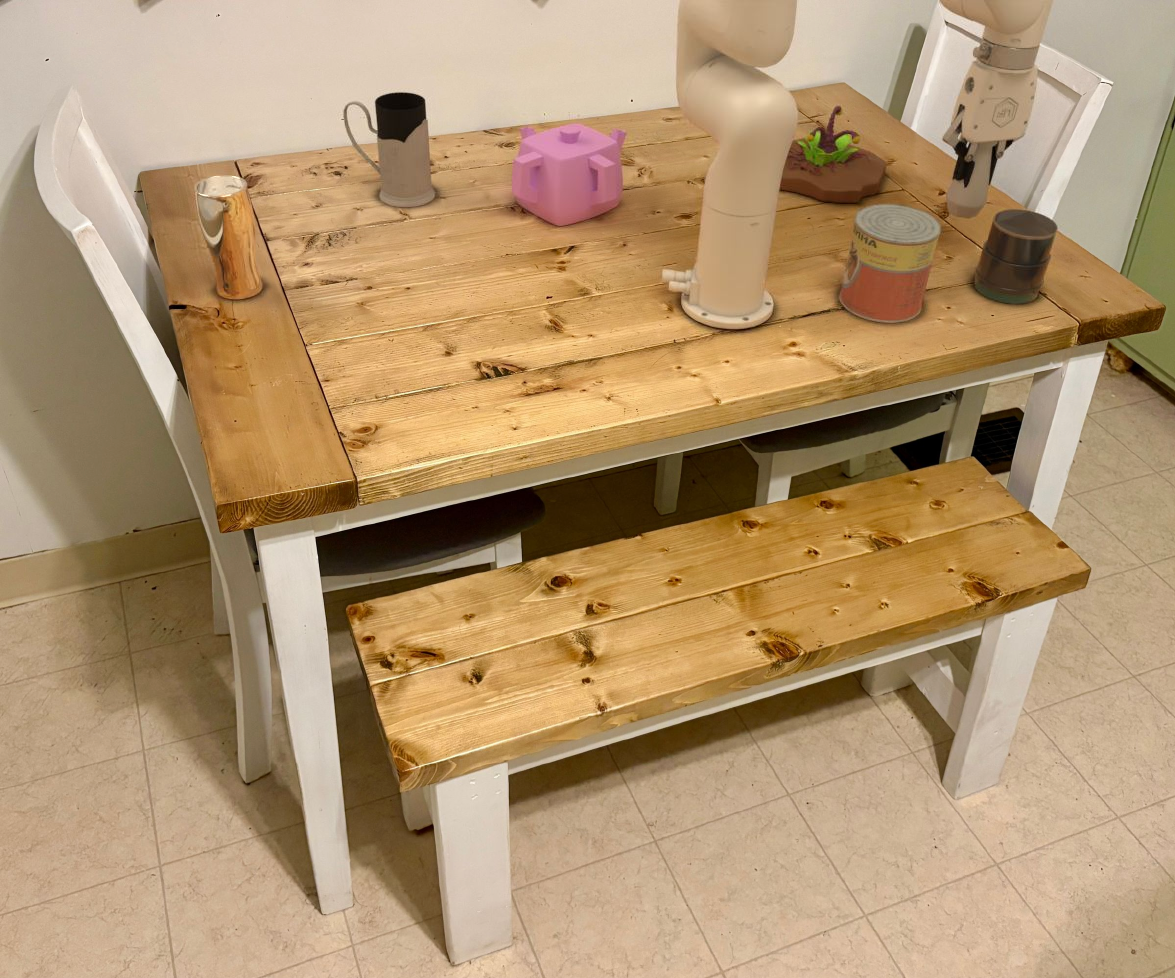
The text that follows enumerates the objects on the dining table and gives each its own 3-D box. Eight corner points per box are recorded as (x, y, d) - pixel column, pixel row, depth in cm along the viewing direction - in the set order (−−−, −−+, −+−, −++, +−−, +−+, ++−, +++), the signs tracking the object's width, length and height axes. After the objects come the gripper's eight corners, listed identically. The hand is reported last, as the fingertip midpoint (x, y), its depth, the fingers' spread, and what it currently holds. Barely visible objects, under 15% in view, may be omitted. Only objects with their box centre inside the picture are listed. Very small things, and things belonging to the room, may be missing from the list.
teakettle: (509, 225, 171) (508, 147, 163) (520, 178, 184) (519, 103, 176) (621, 231, 171) (625, 153, 163) (623, 183, 184) (628, 109, 176)
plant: (900, 170, 191) (915, 105, 184) (857, 212, 178) (870, 144, 171) (793, 142, 199) (803, 79, 192) (744, 180, 186) (752, 113, 179)
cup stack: (975, 301, 158) (994, 234, 151) (968, 269, 165) (986, 204, 158) (1044, 308, 157) (1066, 242, 150) (1034, 276, 164) (1055, 211, 157)
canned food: (834, 280, 161) (849, 202, 153) (912, 283, 161) (931, 205, 153) (845, 321, 152) (861, 240, 145) (928, 324, 152) (949, 244, 145)
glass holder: (420, 211, 174) (413, 115, 164) (338, 195, 177) (327, 101, 167) (444, 188, 180) (439, 95, 171) (364, 174, 183) (355, 82, 174)
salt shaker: (983, 223, 163) (1009, 136, 155) (943, 218, 164) (966, 131, 156) (980, 206, 168) (1005, 121, 159) (941, 201, 168) (964, 116, 160)
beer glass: (239, 306, 150) (219, 202, 140) (202, 291, 153) (180, 187, 143) (276, 285, 155) (260, 182, 145) (240, 271, 157) (221, 169, 148)
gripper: (972, 66, 146) (937, 199, 158) (1074, 59, 151) (1033, 188, 163) (940, 48, 152) (908, 177, 163) (1039, 41, 156) (1002, 167, 168)
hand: (971, 181), depth 163 cm, fingers closed on salt shaker, 3 cm apart
